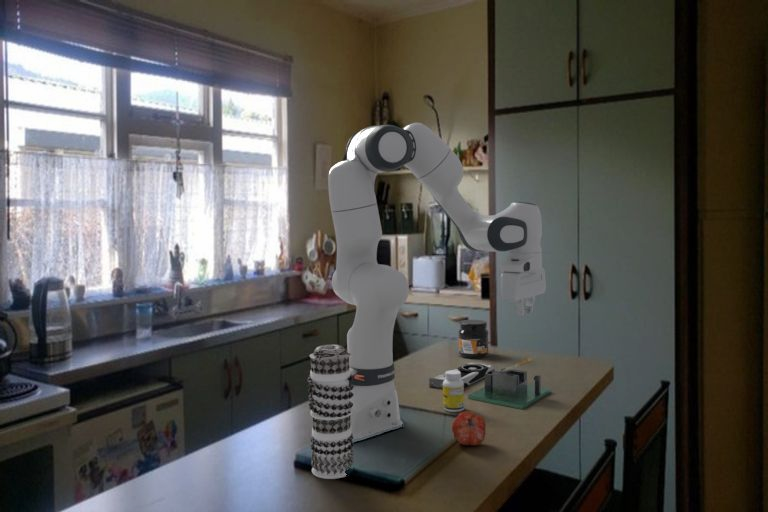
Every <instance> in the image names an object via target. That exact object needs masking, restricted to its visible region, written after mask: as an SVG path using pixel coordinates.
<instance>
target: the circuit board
mask: <svg viewBox="0 0 768 512" xmlns="http://www.w3.org/2000/svg"><path fill="white" fill-rule="evenodd" d="M506 368H507V367H503V368H501V370H500V371H502V370H504V369H506ZM500 371H499V370H495V371H492V374H493V375H492V374H485V378H484V387H481V388H480V389H478V390H475V391H474V392H471V393H469V394H468V395H467V398H468V399H470V400H474V401H478V402H479V401H480V402H485V403H490V404H494V405H498V406H499V405H500V406H504V407H509V408H515V409H519V410H524V409H525V408H527V407H529V406H530V405H532V404H534V403H535V402H537V401H539V400H541V399H542V398H544V397H545V396H547V395H549V394H550V393H552V391H551V388H549V387H543V386H542V385H541V380H542V379H541V378H542V377H541V375H539V374H536V375H534V376H533V381H534V385H531V384H528V371H526V370H521V369H515V368H513V369H511V370H509V371H507V372H505V373H501V372H500Z"/></svg>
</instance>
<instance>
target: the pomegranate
mask: <svg viewBox="0 0 768 512" xmlns="http://www.w3.org/2000/svg"><path fill="white" fill-rule="evenodd" d="M451 429H452V433H453V436H454V438H455V440H456V441H457V442H458V443H460V444H461V445H463V446H478V445H480V444H482V442H483V441H484V440H485V436H486V421H485V419H484V418H483V417H482V416H480V415H479V414H478V415H477V414H476V413H475V412H473V411H471V410H469V411H467V410H466V411H461V412H460V413H459V414H458V415H457V416H456V418H454V419H453V421H452V423H451Z"/></svg>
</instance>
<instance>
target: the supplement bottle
mask: <svg viewBox="0 0 768 512" xmlns="http://www.w3.org/2000/svg"><path fill="white" fill-rule="evenodd" d="M444 374H445V378H446V380H444V381H443V389H442V399H443V400H442V405H443V407H442V408H443V410H444V411H446V412H449V413H459V412H460V413H461V412H463V411H464V410H465V391H464V390H465V388H464V382H463V381H462V380H461V379H460V378H461V372H460V371H457V370H454V369H452V370H451V369H450V370H446V371H445V372H444Z"/></svg>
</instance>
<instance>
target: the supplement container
mask: <svg viewBox="0 0 768 512" xmlns="http://www.w3.org/2000/svg"><path fill="white" fill-rule="evenodd" d="M457 332H458V333H457V334H458V355H460V357H463V358H465V359H483V357H484V358H486V357H488V356H489V354H490V353H489V333H490V332H489V330H488V322H487V320H483V319H464V320H460V321H459V329H458V331H457Z"/></svg>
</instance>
